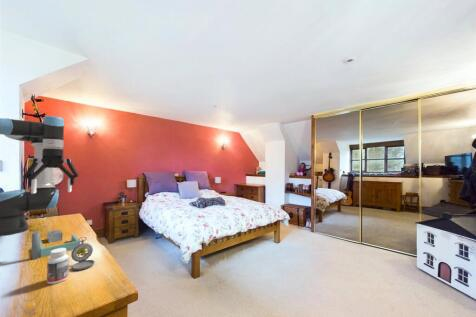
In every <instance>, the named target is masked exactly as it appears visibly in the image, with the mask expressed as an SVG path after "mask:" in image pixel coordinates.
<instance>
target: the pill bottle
mask: <svg viewBox="0 0 476 317" xmlns="http://www.w3.org/2000/svg"><path fill="white" fill-rule="evenodd" d="M49 256H50V257H49V258H48V259H47V261H46V262H47V264H46V266H47V267H46V268H47V269H46V283H47V284H48V285H55V284H59V283H62V282H64V281H65V280H67V279H68V278H69V272H70V271H69V270H70V269H69V267H70V263H69V262H70V256H69V255H68V254H67V251H66V248H58V249H54V250H52V251H51V252H50V255H49Z"/></svg>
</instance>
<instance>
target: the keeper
mask: <svg viewBox="0 0 476 317" xmlns="http://www.w3.org/2000/svg"><path fill="white" fill-rule="evenodd" d="M78 239H79V238H78V237H77V235H76V234H75V233H71V240H70V241H71V242H66V243H65V242H64V243H62V244H57V245H51V246H47V247H44V244H43V241H42V240H41V232H39V231H38V230H35V231H33V233H32V234H31V260H37V259H39V258H43V257H48V256H50V252H51V251H52V250H54V249H58V248H66V252H68V251H73V249H74V248H75V247H76V246H77V245H79V244H81V242H80V241H81V240H80V239H79V241H78Z"/></svg>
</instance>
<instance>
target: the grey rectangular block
mask: <svg viewBox="0 0 476 317" xmlns="http://www.w3.org/2000/svg"><path fill="white" fill-rule="evenodd" d="M46 238H47V242H48V244H50V243H51V244H52V243H55V242H60V241H63V232H62V230H61V229H58V230H56V229H55V230H51V231H47V237H46Z"/></svg>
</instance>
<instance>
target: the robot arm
mask: <svg viewBox="0 0 476 317" xmlns="http://www.w3.org/2000/svg"><path fill="white" fill-rule="evenodd" d="M42 120H43V121H41V122H39V121H33V120H32V121H31V120H20V119H13V118H2V117H0V135H3V136H5V137H6V138H8V139H12V140H15V141H19V142H20V141H21V142H27V143H28V142H29V143H30V146H32V147H33V148H34V149H33V150H34V153H33V155H34V156H33V157H34V158H33V160H32V163H31V165H30V166H29V168H28V169H27V170H26V172H25V174H23V178H24V179H28V186H29V187H30V189H29V190H30V191H26V189H24V188H23V189H15V190H9V191H3V192H0V237H1V236H2V235H3V236H9V235H15V234H19V233H23V232H25V231H28V230H29V223H28V220H27V219H26V216H25V213H26V212H32V211H40V210H42V211H43V210H48V209H53V208H56V206H57V204H58V201H59V194H60V193H59V192H60V191H59V189H56V185H54V183H53V181H54V180H53V177H54V176H53V172H54V171H53V169H54V168H55V169H56V168H59V170H61V171H62V172H63V173H64V174H65V175H66V176H67V177H68V179H67V192H68V193H71V192H72V190H73V189H72V188H73V187H72V186H73V185H75V178H78V177H80V174H79V173H78V172H77V170H76V168H75V166H74V165H73V163H72V158H64V132H65V129H64V128H65V120H64V118H63V117H60V116H55V115H45V116H43V119H42ZM63 163H66V164H67V167H69V170H70V171H69V170H68V169H67V168H66V167H65V165H64V164H63Z"/></svg>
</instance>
